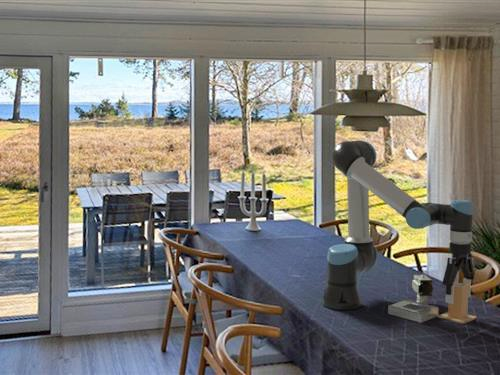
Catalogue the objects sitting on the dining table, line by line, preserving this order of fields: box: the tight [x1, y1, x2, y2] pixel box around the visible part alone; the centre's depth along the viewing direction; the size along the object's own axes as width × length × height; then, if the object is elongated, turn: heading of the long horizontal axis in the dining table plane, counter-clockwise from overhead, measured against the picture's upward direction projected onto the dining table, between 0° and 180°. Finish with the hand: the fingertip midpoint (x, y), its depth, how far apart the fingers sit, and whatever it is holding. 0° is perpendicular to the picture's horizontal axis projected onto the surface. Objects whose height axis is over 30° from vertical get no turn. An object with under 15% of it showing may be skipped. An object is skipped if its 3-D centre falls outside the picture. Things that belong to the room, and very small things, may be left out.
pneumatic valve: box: [411, 274, 434, 304], centre depth 229 cm, size 6×12×12 cm, turn 2°
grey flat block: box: [387, 298, 440, 324], centre depth 217 cm, size 14×12×3 cm
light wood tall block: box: [447, 281, 469, 319], centre depth 213 cm, size 5×5×12 cm
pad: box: [437, 311, 478, 325], centre depth 213 cm, size 10×10×1 cm
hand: (458, 299), depth 213 cm, fingers open, 12 cm apart
